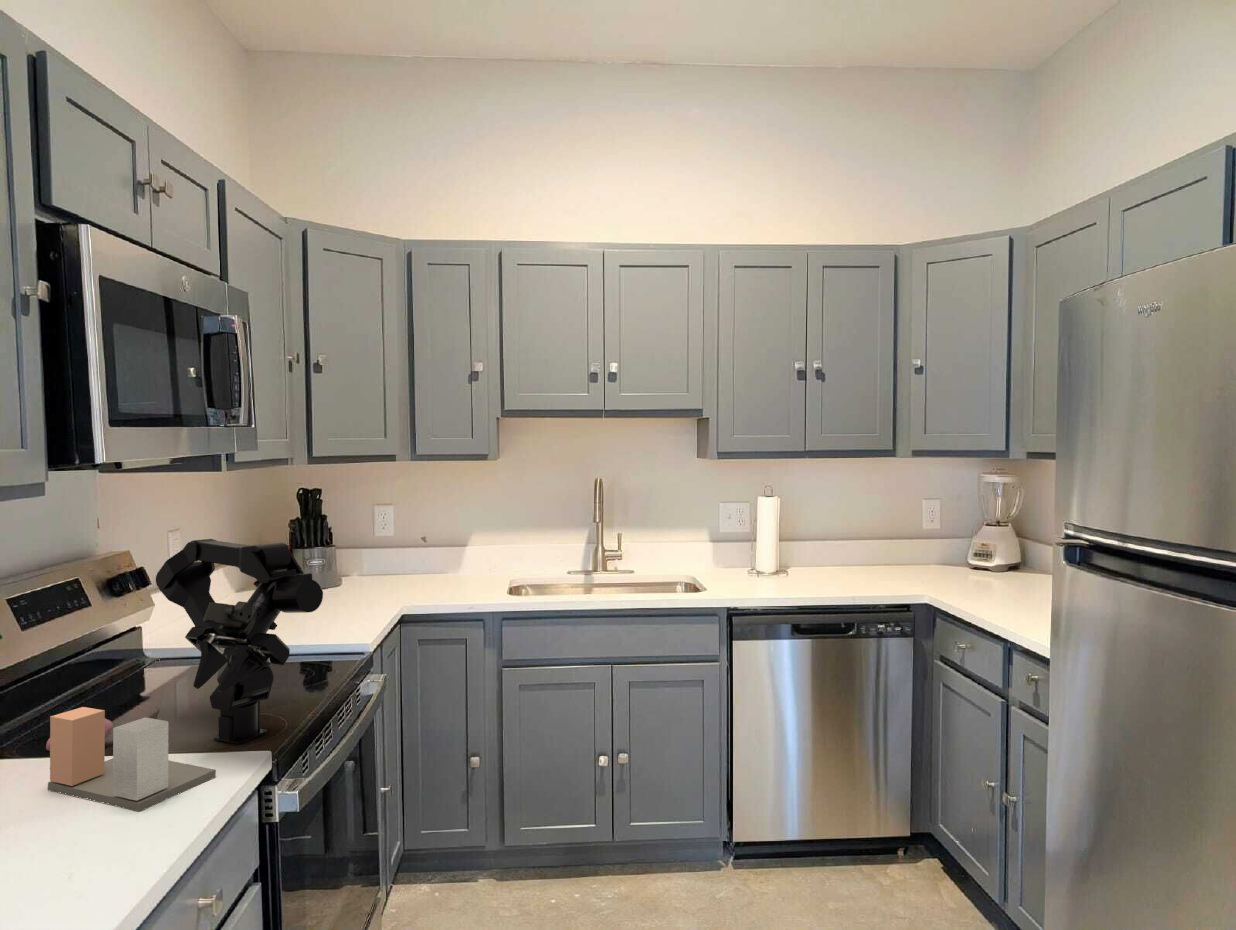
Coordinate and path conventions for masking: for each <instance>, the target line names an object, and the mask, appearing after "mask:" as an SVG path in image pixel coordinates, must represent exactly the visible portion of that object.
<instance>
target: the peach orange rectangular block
mask: <svg viewBox="0 0 1236 930" xmlns="http://www.w3.org/2000/svg"><path fill="white" fill-rule="evenodd" d="M105 711H106V710H105V709H97V708H91V707H86V706H81V707H78V708H75V709H71V710H67V711H64V712H61V713H57V714H55V715H51V716H49V719H50V720H49V721H50V722H49V724H50V725H49V727H50V732H49V738H50V751H49V782H51V781H52V782H57V783H61V784H65V785H70V786H73V785H76V784H78V783H81V782H84V781H86V780H89V779H91V778H94V777H97V776H99V775H102V774H104V765H105V761H106V759H105V750H106V749H105V745H106V742H105V741H106V739H105V718H106V717H105V716H106V712H105Z"/></svg>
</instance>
